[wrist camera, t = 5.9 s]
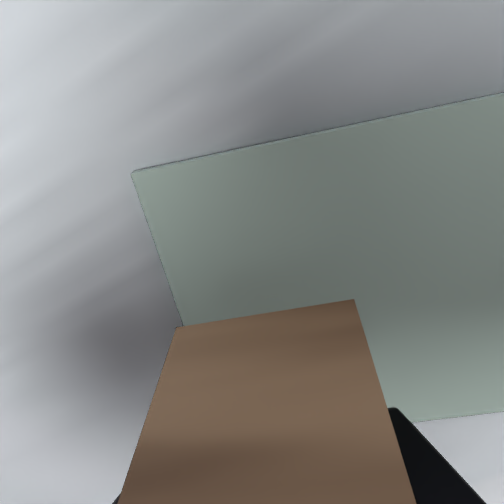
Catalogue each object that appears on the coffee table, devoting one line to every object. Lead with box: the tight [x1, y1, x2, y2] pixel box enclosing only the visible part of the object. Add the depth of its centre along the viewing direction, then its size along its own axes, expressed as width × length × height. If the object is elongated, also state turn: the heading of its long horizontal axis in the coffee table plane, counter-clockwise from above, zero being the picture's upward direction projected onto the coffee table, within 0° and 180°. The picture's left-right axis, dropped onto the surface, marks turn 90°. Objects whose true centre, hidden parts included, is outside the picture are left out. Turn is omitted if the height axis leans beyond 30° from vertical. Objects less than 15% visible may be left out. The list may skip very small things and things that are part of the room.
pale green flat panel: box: [131, 92, 504, 423], centre depth 13 cm, size 10×14×1 cm
